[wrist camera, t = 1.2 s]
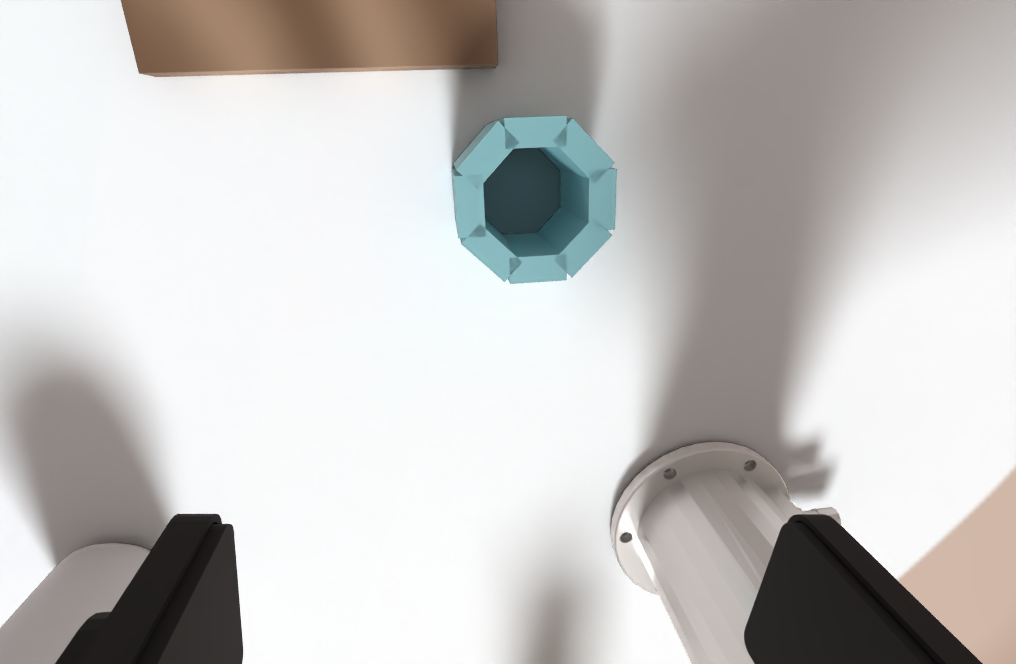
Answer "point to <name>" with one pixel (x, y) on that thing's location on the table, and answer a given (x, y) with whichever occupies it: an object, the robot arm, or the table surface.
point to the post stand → (309, 36)
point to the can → (68, 601)
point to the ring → (571, 226)
